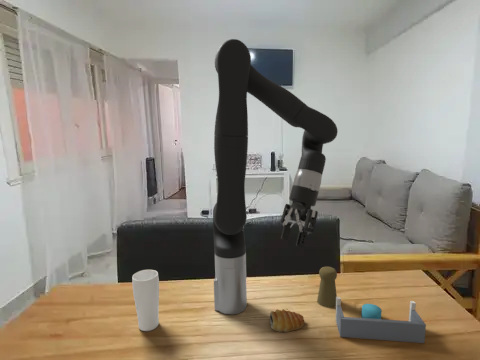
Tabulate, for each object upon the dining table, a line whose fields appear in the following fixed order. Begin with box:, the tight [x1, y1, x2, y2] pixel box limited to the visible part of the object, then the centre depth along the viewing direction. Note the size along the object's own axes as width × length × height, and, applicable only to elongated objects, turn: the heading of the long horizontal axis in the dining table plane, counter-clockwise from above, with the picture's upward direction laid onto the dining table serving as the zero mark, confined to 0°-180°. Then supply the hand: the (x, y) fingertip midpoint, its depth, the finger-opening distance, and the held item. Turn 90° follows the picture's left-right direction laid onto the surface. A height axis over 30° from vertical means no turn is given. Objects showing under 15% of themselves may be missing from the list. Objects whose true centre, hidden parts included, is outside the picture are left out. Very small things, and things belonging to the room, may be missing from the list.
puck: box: [361, 303, 383, 319], centre depth 84 cm, size 5×5×3 cm
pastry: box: [269, 308, 305, 333], centre depth 82 cm, size 9×7×4 cm
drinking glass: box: [131, 269, 160, 332], centre depth 81 cm, size 7×7×15 cm
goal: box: [335, 296, 427, 344], centre depth 78 cm, size 20×7×7 cm, turn 82°
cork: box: [316, 266, 338, 309], centre depth 92 cm, size 6×6×11 cm
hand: (291, 242), depth 84 cm, fingers open, 8 cm apart
